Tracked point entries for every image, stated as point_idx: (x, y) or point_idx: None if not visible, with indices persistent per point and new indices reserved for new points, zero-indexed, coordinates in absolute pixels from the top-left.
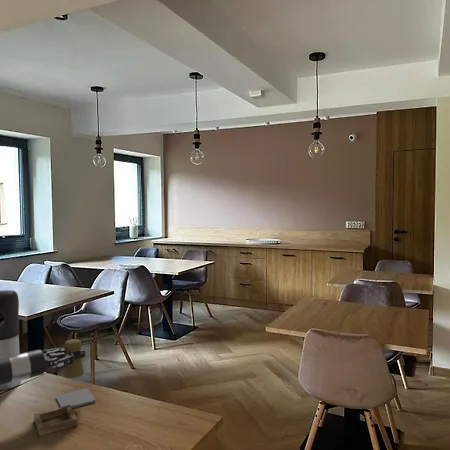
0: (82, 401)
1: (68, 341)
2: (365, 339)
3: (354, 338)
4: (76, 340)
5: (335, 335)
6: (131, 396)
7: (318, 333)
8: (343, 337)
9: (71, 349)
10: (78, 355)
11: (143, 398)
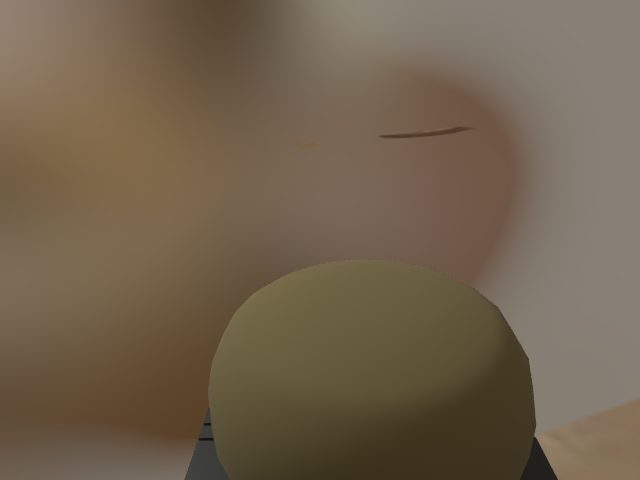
0: None
1: (371, 353)
2: (471, 129)
3: (457, 131)
4: (414, 272)
5: (426, 134)
6: None
7: (399, 137)
8: (442, 134)
9: (521, 466)
10: (541, 470)
11: (571, 429)
